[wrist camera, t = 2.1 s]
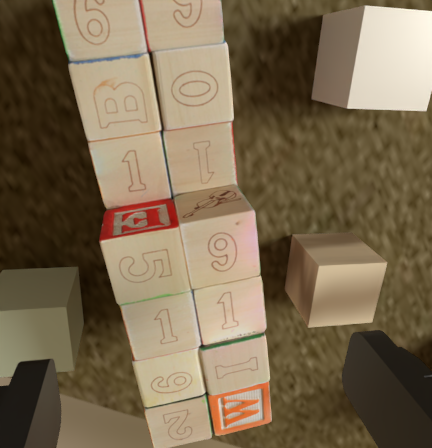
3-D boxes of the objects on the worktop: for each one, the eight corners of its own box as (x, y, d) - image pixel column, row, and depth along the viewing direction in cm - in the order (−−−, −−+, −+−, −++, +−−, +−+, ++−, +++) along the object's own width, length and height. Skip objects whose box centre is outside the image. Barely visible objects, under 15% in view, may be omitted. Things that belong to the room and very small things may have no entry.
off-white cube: (322, 15, 24) (365, 5, 19) (394, 20, 25) (451, 13, 20) (310, 99, 26) (346, 108, 21) (377, 101, 27) (426, 110, 22)
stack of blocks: (80, -2, 21) (14, -66, 10) (191, -13, 22) (243, -83, 11) (148, 309, 30) (153, 457, 19) (226, 294, 31) (274, 428, 20)
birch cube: (291, 234, 30) (318, 265, 25) (351, 232, 31) (387, 262, 26) (284, 288, 32) (308, 327, 27) (340, 285, 33) (372, 322, 28)
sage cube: (2, 269, 27) (-25, 312, 22) (78, 266, 28) (66, 306, 23) (14, 327, 29) (-10, 378, 24) (84, 322, 30) (74, 370, 25)
